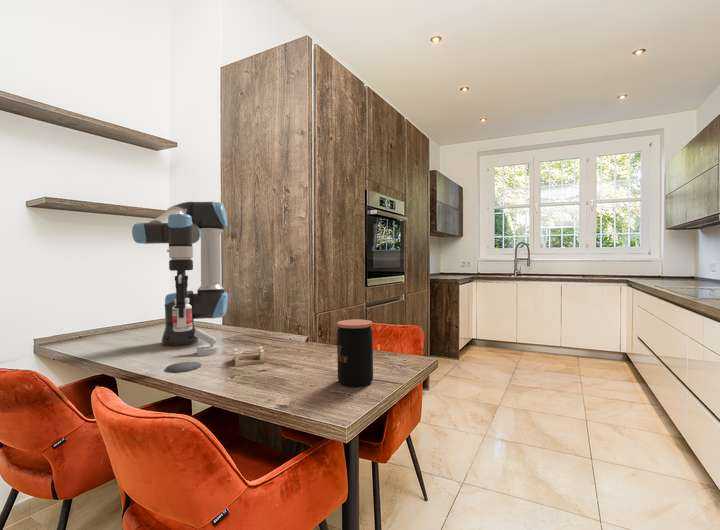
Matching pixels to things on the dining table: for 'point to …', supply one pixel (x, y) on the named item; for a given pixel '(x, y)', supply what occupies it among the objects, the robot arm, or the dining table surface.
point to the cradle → (260, 355)
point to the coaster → (183, 367)
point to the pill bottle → (188, 317)
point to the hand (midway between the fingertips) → (182, 325)
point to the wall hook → (207, 349)
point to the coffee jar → (355, 352)
